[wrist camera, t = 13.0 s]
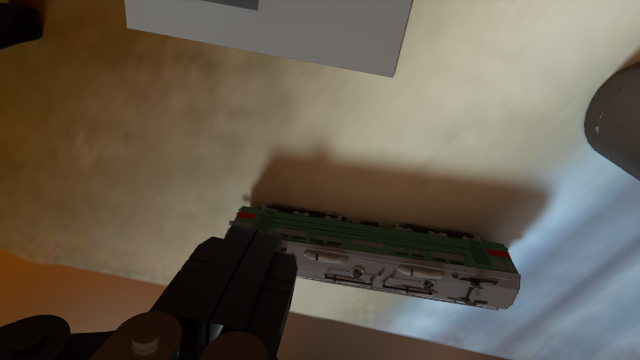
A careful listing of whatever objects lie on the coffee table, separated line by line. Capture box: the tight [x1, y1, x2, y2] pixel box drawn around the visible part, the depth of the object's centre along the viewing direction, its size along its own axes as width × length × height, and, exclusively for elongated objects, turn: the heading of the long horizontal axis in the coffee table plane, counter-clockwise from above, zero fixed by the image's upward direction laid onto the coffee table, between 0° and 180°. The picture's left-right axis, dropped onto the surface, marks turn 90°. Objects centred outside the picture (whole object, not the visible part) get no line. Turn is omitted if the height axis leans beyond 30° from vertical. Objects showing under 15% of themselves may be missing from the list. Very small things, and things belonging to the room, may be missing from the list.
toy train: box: [225, 203, 521, 310], centre depth 36 cm, size 5×31×10 cm, turn 85°
